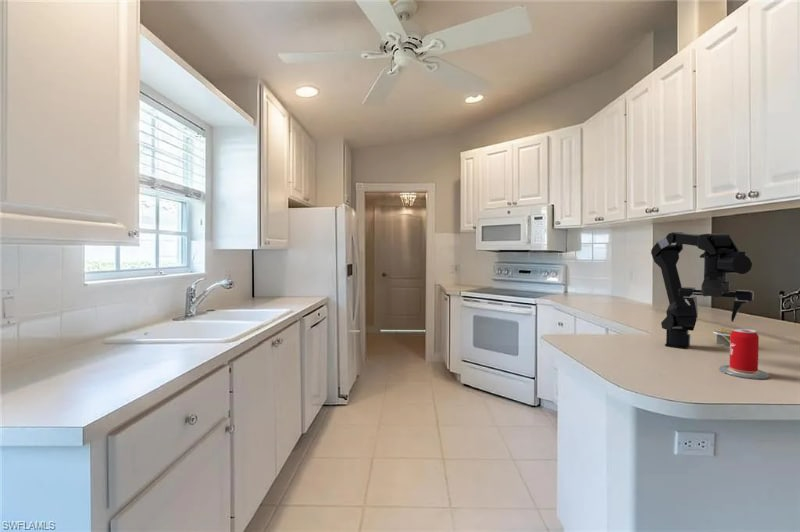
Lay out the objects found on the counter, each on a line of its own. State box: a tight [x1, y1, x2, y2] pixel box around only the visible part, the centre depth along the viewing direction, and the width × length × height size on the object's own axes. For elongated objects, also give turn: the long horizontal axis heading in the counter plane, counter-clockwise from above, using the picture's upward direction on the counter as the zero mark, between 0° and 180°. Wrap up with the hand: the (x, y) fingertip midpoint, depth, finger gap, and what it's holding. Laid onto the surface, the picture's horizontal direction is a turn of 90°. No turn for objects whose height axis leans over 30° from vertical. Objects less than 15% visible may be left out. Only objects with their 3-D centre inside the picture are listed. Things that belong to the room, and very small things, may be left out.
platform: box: [713, 327, 733, 346], centre depth 144 cm, size 12×18×7 cm, turn 39°
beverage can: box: [729, 327, 760, 373], centre depth 114 cm, size 6×6×12 cm
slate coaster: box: [718, 364, 770, 380], centre depth 114 cm, size 11×11×1 cm
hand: (713, 319), depth 127 cm, fingers open, 9 cm apart
